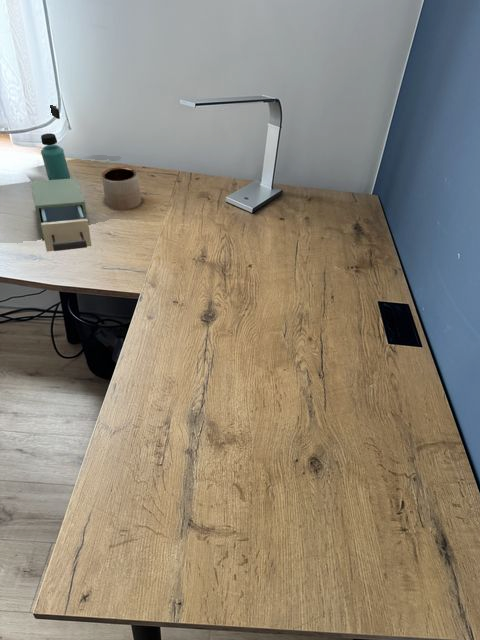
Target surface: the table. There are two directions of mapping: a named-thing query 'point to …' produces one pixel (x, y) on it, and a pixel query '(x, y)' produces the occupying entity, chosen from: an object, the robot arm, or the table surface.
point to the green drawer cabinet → (56, 196)
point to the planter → (121, 188)
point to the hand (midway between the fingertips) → (36, 117)
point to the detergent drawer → (65, 228)
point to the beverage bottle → (54, 158)
